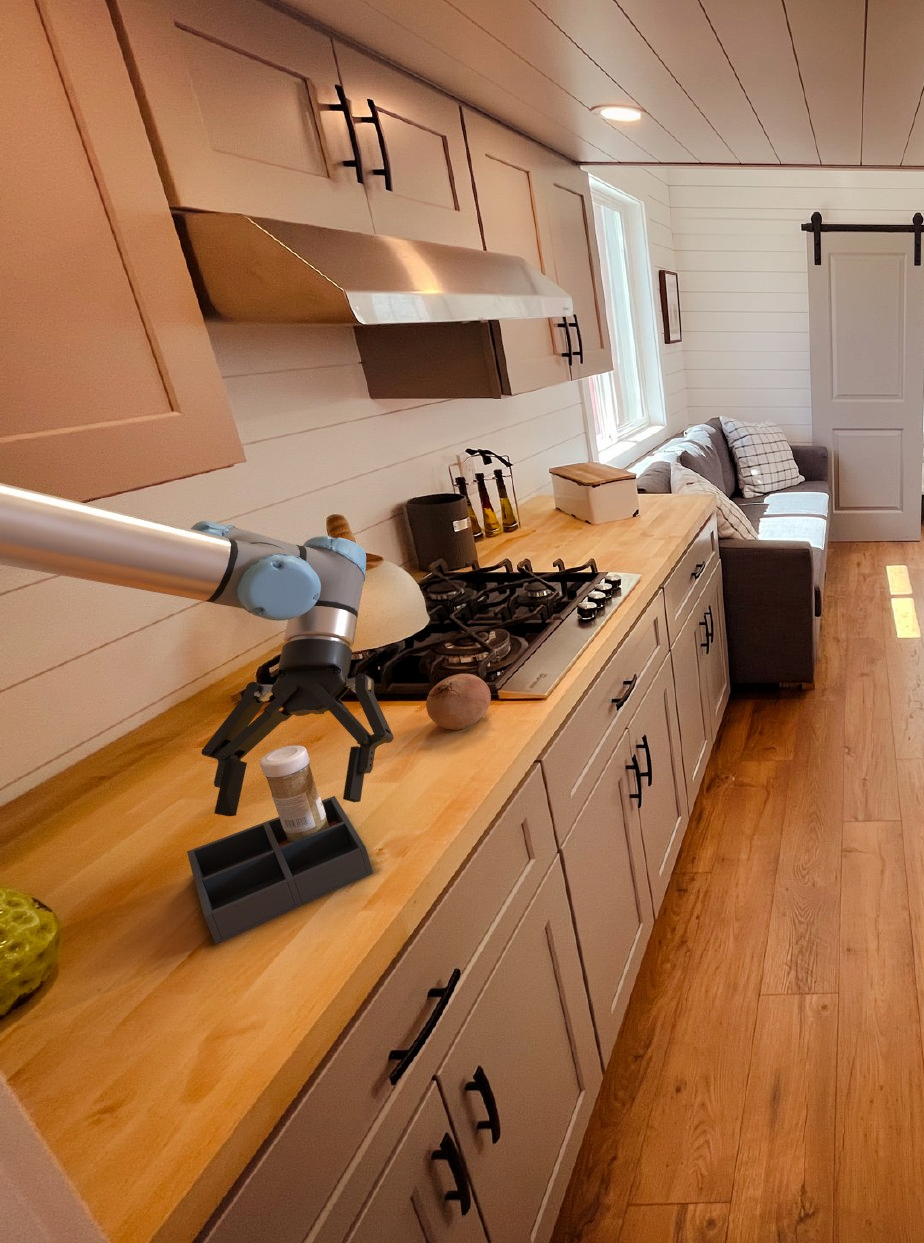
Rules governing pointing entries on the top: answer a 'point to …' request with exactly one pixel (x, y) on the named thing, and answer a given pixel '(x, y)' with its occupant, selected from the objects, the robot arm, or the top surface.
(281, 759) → the spice jar
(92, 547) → the robot arm
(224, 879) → the grid
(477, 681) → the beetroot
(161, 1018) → the top surface
